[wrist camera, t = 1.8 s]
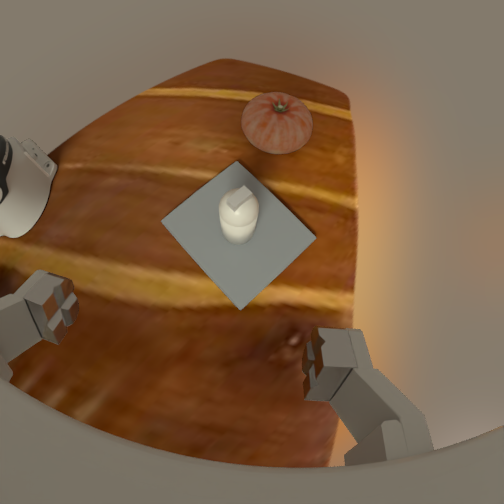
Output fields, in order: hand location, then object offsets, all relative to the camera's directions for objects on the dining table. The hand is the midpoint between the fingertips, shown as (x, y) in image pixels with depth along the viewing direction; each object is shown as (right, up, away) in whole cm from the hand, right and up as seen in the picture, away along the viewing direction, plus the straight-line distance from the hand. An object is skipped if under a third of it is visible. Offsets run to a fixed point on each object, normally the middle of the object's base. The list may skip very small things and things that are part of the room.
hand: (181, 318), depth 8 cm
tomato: (+6, +20, +34) cm, 40 cm away
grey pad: (0, +5, +30) cm, 30 cm away
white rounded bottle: (0, +5, +29) cm, 29 cm away
